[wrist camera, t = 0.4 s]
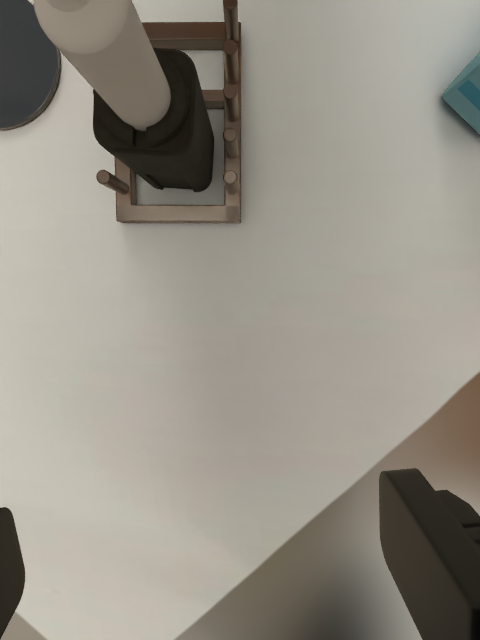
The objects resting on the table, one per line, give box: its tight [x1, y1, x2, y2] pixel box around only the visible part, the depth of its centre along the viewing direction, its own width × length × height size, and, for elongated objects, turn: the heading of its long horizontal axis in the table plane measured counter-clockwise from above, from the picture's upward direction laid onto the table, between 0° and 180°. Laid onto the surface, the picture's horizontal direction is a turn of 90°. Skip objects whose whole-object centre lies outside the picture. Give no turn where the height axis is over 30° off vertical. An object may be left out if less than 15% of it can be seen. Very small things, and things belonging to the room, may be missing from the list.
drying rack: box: [93, 0, 241, 223], centre depth 32 cm, size 14×9×6 cm
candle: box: [34, 0, 214, 192], centre depth 23 cm, size 5×5×25 cm
